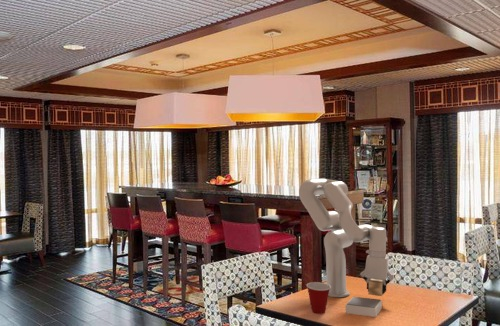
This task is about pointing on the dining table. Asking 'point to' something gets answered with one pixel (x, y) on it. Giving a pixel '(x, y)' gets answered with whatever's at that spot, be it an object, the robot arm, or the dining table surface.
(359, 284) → the dining table surface
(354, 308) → the plinth
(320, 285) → the plastic cup
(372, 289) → the oak cube
